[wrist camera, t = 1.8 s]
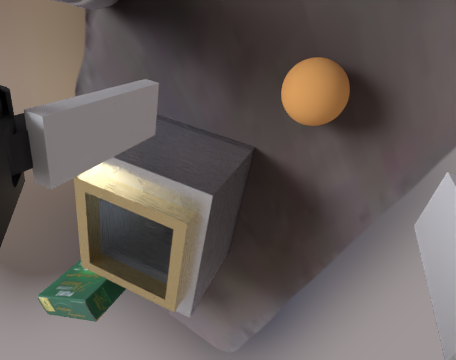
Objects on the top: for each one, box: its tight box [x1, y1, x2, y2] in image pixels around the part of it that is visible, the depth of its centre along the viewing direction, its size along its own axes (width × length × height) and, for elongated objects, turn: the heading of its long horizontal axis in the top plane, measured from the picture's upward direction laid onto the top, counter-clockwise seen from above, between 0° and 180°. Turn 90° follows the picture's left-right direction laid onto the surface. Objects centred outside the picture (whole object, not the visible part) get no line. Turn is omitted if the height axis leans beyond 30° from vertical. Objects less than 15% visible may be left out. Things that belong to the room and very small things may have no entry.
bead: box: [281, 57, 350, 126], centre depth 24 cm, size 5×5×5 cm
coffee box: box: [37, 260, 126, 322], centre depth 37 cm, size 8×3×13 cm, turn 108°
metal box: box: [74, 115, 255, 318], centre depth 31 cm, size 14×16×12 cm
